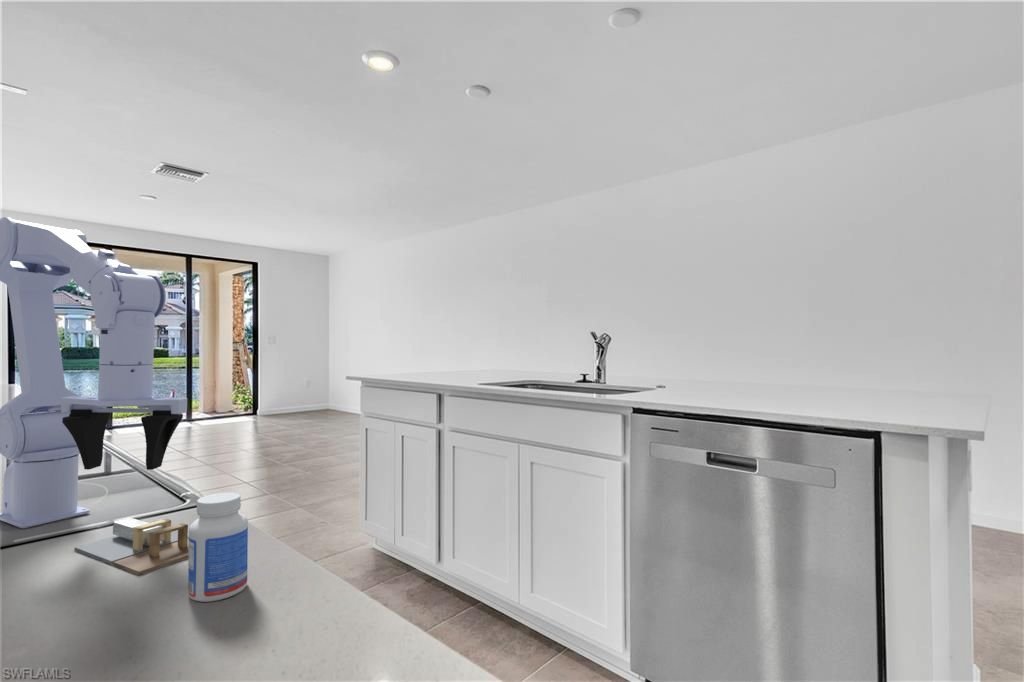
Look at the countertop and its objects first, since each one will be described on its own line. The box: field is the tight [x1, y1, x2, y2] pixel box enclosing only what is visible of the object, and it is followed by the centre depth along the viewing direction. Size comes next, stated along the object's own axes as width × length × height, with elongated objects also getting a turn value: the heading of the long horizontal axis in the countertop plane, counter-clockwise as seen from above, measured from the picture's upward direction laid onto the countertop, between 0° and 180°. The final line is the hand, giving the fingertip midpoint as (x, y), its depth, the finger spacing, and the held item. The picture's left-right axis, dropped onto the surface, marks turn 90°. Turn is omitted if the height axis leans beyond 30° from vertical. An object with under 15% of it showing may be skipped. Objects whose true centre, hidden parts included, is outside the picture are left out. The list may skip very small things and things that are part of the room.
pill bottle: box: [187, 492, 249, 603], centre depth 54 cm, size 6×5×10 cm
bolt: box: [112, 517, 164, 546], centre depth 66 cm, size 8×2×2 cm, turn 63°
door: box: [73, 518, 189, 565], centre depth 66 cm, size 9×10×3 cm
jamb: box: [112, 522, 189, 576], centre depth 63 cm, size 5×10×3 cm, turn 153°
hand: (123, 467), depth 67 cm, fingers open, 7 cm apart
